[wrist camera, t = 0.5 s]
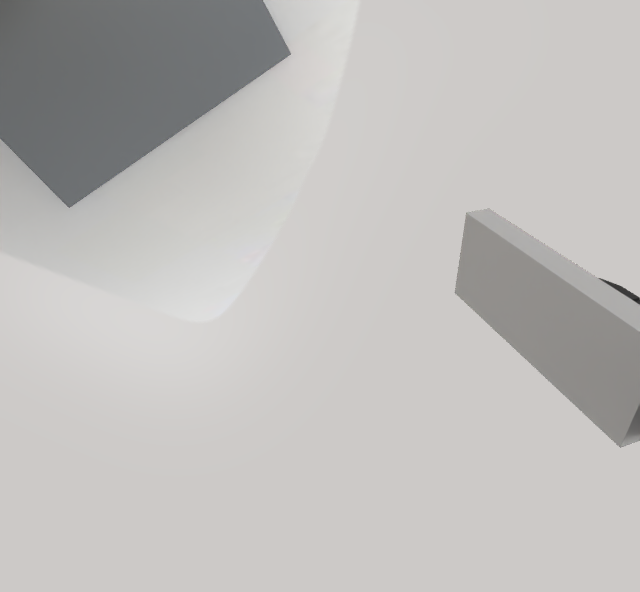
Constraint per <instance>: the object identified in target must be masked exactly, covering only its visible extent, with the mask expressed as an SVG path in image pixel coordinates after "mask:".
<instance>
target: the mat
mask: <svg viewBox="0 0 640 592" xmlns="http://www.w3.org/2000/svg"><path fill="white" fill-rule="evenodd" d="M290 54H291V53H290V51H289V49H288V47H287V45H286V44H285V42H284V40H283V38H282V36H281V34H280V32H279V30H278V28H277V27H276V25H275V23H274V21H273V19H272V17H271V15H270V13H269V11H268V9H267V8H266V6H265V4H264V2H263V0H0V138H1V139H2V140H3V141H4V142H5V143H6V144H7V145H8V146H9V147H10V149H11V150H12V151H13V152H14V153H15V154H16V155H17V156H18V157H19V158H20V159H21V160H22V161H23V162H24V163H25V164H26V165H27V166H28V167H29V168H30V169H31V170H32V171H33V172H34V173H35V174H36V175H37V176H38V177H39V178H40V179H41V180H42V181H43V182H44V183H45V184H46V185H47V186H48V187H49V188H50V189H51V190H52V191H53V192H54V193H55V194H56V195H57V196H58V197H59V198H60V199H61V200H62V201H63V202H64V203H65V204H66V205H67V206H68V207H69V208H70V207H71V206H73V205H74V204H75V203H77V202H78V201H80V200H81V199H83V198H84V197H86V196H87V195H88V194H90V193H91V192H93V191H94V190H96V189H97V188H99V187H100V186H101V185H103V184H104V183H106V182H107V181H109V180H110V179H112V178H113V177H114V176H116V175H117V174H119V173H120V172H122V171H123V170H125V169H126V168H127V167H129V166H130V165H132V164H133V163H135V162H136V161H137V160H139V159H140V158H142V157H143V156H145V155H146V154H148V153H149V152H150V151H152V150H153V149H155V148H156V147H158V146H159V145H161V144H162V143H163V142H165V141H166V140H168V139H169V138H171V137H172V136H174V135H175V134H176V133H178V132H179V131H181V130H182V129H184V128H185V127H187V126H188V125H189V124H191V123H192V122H194V121H195V120H197V119H198V118H200V117H201V116H202V115H204V114H205V113H207V112H208V111H210V110H211V109H213V108H214V107H215V106H217V105H218V104H220V103H221V102H223V101H224V100H226V99H227V98H228V97H230V96H231V95H233V94H234V93H236V92H237V91H239V90H240V89H241V88H243V87H244V86H246V85H247V84H249V83H250V82H251V81H253V80H254V79H256V78H257V77H259V76H260V75H262V74H263V73H264V72H266V71H267V70H269V69H270V68H272V67H273V66H275V65H276V64H277V63H279V62H280V61H282V60H283V59H285V58H286V57H288V56H289V55H290Z"/></svg>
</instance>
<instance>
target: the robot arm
mask: <svg viewBox="0 0 640 592" xmlns="http://www.w3.org/2000/svg"><path fill="white" fill-rule="evenodd" d="M455 293H456V294H457V295H458V296H459V297H460V298H461V299H462V300H463V301H464V302H465V303H466V304H467V305H468V306H469V307H471V308H472V309H473V310H474V311H475V312H476V313H477V314H478V315H479V316H480V317H481V318H482V319H483V320H484V321H485V322H487V323H488V324H489V325H490V326H491V327H492V328H493V329H494V330H495V331H496V332H497V333H498V334H499V335H500V336H502V337H503V338H504V339H505V340H506V341H507V342H508V343H509V344H510V345H511V346H512V347H513V348H514V349H516V350H517V352H519V353H520V354H521V355H522V356H523V357H524V358H525V359H526V360H527V361H528V362H529V363H531V365H532V366H534V367H535V368H536V369H537V370H538V371H539V372H540V373H541V374H542V375H543V376H544V377H545V378H546V379H547V380H548V381H550V382H551V383H552V384H553V385H554V386H555V387H556V388H557V389H558V390H559V391H560V392H561V393H562V394H563V395H565V396H566V397H567V398H568V399H569V400H570V401H571V402H572V403H573V404H574V405H575V406H576V407H577V408H579V410H581V411H582V412H583V413H584V414H585V415H586V416H587V417H588V418H589V419H590V420H591V421H592V422H593V423H594V424H595V425H597V426H598V427H599V428H600V429H601V430H602V431H603V432H604V433H605V434H606V435H607V436H608V437H609V438H610V439H611V440H613V441H614V442H615V443H616V444H617V445H618V446H619V447H623V446H626V445H629V444H632V443H635V442H637V441H640V298H639V297H638V296H636V295H634V294H633V293H631V292H630V291H628V290H626V289H625V288H623V287H621V286H619V285H616V284H614V283H611V282H609V281H606V280H603V279H600V278H597V277H595V276H594V275H592V274H591V273H589V272H588V271H586V270H584V269H583V268H581V267H580V266H578V265H577V264H575V263H573V262H572V261H570V260H569V259H567V258H565V257H564V256H563V255H561V254H559V253H558V252H556V251H554V250H553V249H552V248H550V247H548V246H547V245H545V244H543V243H542V242H541V241H539V240H537V239H536V238H534V237H533V236H531V235H529V234H528V233H526V232H525V231H523V230H522V229H520V228H519V227H517V226H515V225H514V224H512V223H511V222H509V221H507V220H506V219H504V218H503V217H501V216H500V215H498V214H497V213H495V212H493V211H492V210H490V209H484V210H479V211H474V212H468V213H466V219H465V226H464V233H463V240H462V247H461V253H460V260H459V267H458V274H457V281H456V288H455Z"/></svg>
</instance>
